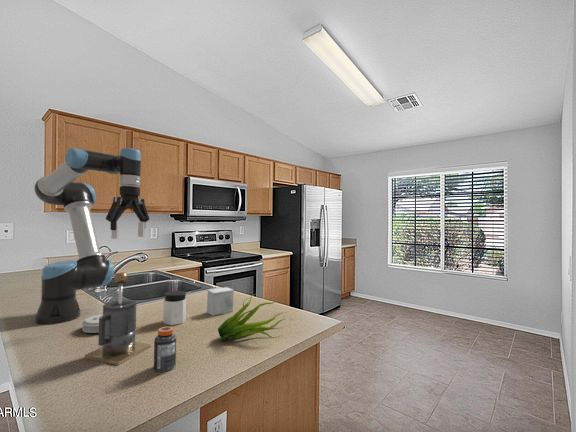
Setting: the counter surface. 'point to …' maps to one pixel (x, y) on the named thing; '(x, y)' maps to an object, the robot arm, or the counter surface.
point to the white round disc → (91, 324)
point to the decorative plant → (237, 329)
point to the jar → (174, 308)
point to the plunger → (120, 283)
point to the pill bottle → (165, 350)
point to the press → (117, 334)
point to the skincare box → (220, 301)
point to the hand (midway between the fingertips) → (128, 237)
